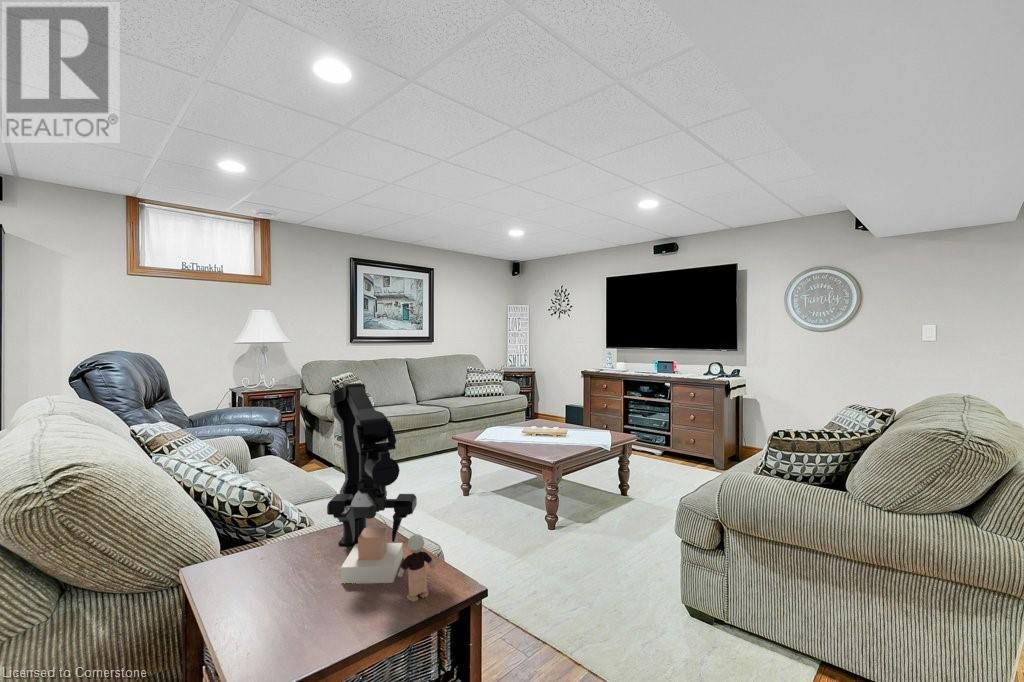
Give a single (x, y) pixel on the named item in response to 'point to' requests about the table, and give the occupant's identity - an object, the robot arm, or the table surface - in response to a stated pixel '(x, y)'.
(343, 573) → the cream box
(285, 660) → the table surface
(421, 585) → the grandmother figurine
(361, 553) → the terracotta block
